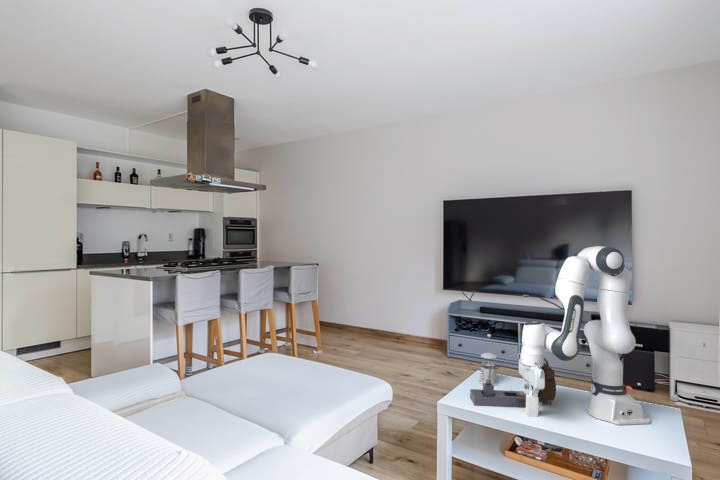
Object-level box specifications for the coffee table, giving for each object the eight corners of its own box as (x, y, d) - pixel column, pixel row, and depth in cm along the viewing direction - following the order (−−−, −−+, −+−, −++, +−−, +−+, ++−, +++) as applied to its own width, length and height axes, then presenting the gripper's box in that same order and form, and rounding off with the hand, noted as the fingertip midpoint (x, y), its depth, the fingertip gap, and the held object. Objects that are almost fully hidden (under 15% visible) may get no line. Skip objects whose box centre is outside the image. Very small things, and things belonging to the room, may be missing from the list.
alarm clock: (528, 395, 193) (528, 353, 193) (543, 396, 193) (544, 353, 193) (540, 408, 179) (541, 362, 179) (557, 408, 178) (558, 363, 178)
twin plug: (491, 401, 186) (492, 379, 186) (493, 403, 183) (493, 381, 183) (482, 400, 186) (483, 378, 186) (484, 403, 183) (484, 381, 183)
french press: (496, 380, 214) (497, 332, 214) (500, 388, 203) (501, 337, 203) (476, 379, 216) (477, 331, 216) (480, 386, 204) (481, 336, 204)
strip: (523, 400, 188) (523, 390, 188) (530, 407, 179) (530, 397, 179) (470, 397, 189) (470, 387, 189) (474, 405, 180) (474, 395, 180)
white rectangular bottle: (535, 413, 173) (535, 390, 173) (538, 416, 170) (538, 392, 170) (525, 413, 173) (526, 389, 173) (528, 416, 170) (528, 392, 170)
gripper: (550, 367, 161) (548, 402, 161) (531, 353, 181) (529, 384, 181) (533, 366, 161) (531, 401, 161) (516, 352, 182) (514, 383, 182)
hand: (530, 392), depth 171 cm, fingers open, 8 cm apart
